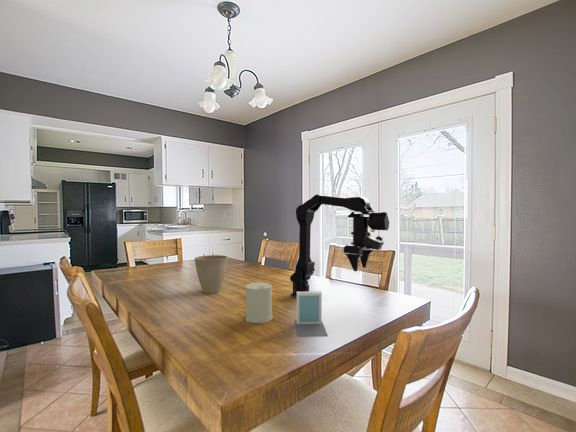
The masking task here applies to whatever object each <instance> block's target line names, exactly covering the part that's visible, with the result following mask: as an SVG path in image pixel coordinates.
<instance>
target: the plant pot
mask: <svg viewBox="0 0 576 432" xmlns="http://www.w3.org/2000/svg"><path fill="white" fill-rule="evenodd" d="M228 259H229V256H227V255H222V254H221V255H219V254H214V255H213V254H211V255H201V256H196V257H194V263H195V269H196V273H197V274H196V275H197V277H198V281H199V285H200V287H201V290H202V292H203V293H204V294H209V295H210V294H218V293H219V292H221V290H222V286H223V283H224V280H225V277H226V273H227V272H226V271H227V267H228V261H229V260H228Z"/></svg>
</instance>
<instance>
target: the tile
mask: <svg viewBox="0 0 576 432" xmlns="http://www.w3.org/2000/svg"><path fill="white" fill-rule="evenodd" d="M322 296H323V295H322V291H320V290H319V291H318V290H317V291H310V290H309V292H297V296H296V320H297V324H322V322H323V319H322V318H323V317H322V312H323V311H322V309H323V307H322Z"/></svg>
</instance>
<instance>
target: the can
mask: <svg viewBox="0 0 576 432" xmlns="http://www.w3.org/2000/svg"><path fill="white" fill-rule="evenodd" d="M271 320H273V285H272V284H271V283H268V282H251V283H248V284H246V285H245V322H246V323H253V324H263V323H268V322H270V321H271Z"/></svg>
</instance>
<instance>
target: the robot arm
mask: <svg viewBox="0 0 576 432" xmlns="http://www.w3.org/2000/svg"><path fill="white" fill-rule="evenodd" d="M322 205H327V206H334V207H340V208H344V209H345V208H346V209H347V210H350V211H351V212H350V214H348V215H347V218H352V231H351V233H350V235H352V242H350V244H346V245H345V246H343V253H344V254H345V255H346V257H347V259H348V261H349V262H350V263H349V264H350V265H351V267H352V270H353V272H358V270H359V268H358V267H359V264H360V263H359V261H360V262H361V265H362V268H365V269H366V268H367V264H368V261H369V258H370V255H371V254H372V253H373V252H374V251H375V250H376V251H379V250H382V247H383V245H385V244H384V239H383V237H382V236H380V235H377V236H376V237H375V236H371V231H369V228H370V230H372V231H389V227H390V220H389V216H388V212H386V211H382V212H375V210H374V209H373V207H372V205H371V203H370V200H369V199H368V198H367V197H362V196H354V197H345V198H344V197H338V196H328V195H323V194H315V195H313V196H312V197H311V198H310V199H308V200H306V201H305V202H303V203H302V204H300V205H298V206H297V207H296V210H295V215H296V216H295V217H296V221H297V223H298V225H299V235H298V236H299V238H298V239H299V243H298V247H299V248H298V251H299V252H298V259H297V261H296V264H295V269H294V272H293V273H292V275H290V276H289V280H290V282H291V283H292V293H290V296H296V297H297V292H310V284H309V281H310V279H311V276H313V274H314V271H316V270H315V269H316V268H315V263H316V262H315V261H312V259H311V227H312V223H313V221H314V218H315V214H316V212H317V211H318V210H319V208H320V207H321V206H322ZM365 215H367V216H365Z"/></svg>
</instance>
